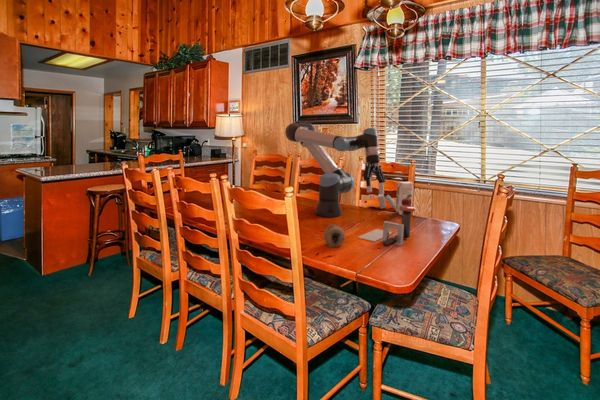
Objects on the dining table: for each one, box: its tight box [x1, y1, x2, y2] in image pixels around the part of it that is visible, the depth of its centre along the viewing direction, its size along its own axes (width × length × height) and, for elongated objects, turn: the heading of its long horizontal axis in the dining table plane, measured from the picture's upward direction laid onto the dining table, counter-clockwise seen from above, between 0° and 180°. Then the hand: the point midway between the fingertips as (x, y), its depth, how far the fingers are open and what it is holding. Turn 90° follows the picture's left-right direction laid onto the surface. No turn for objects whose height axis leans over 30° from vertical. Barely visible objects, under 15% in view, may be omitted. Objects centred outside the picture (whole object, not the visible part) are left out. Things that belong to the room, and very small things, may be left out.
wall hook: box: [377, 193, 396, 210], centre depth 239 cm, size 8×10×10 cm
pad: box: [357, 228, 394, 243], centre depth 182 cm, size 9×18×1 cm, turn 140°
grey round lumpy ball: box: [323, 223, 346, 248], centre depth 167 cm, size 9×8×10 cm
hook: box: [382, 205, 416, 247], centre depth 174 cm, size 7×24×14 cm, turn 140°
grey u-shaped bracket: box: [380, 220, 405, 247], centre depth 171 cm, size 9×5×9 cm, turn 50°
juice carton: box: [395, 181, 414, 216], centre depth 225 cm, size 8×9×19 cm
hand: (375, 193), depth 209 cm, fingers open, 13 cm apart
